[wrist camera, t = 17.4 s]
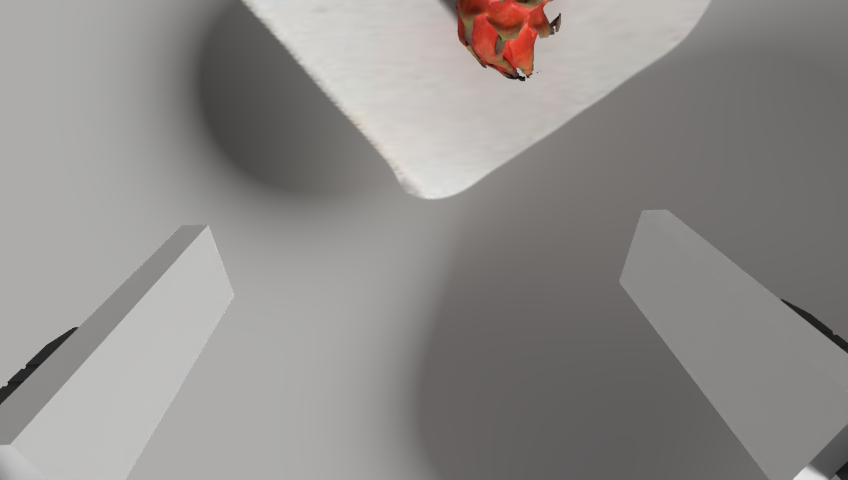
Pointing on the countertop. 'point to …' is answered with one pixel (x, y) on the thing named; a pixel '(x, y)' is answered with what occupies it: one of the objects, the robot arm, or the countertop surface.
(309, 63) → the countertop surface
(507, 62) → the dragon fruit
